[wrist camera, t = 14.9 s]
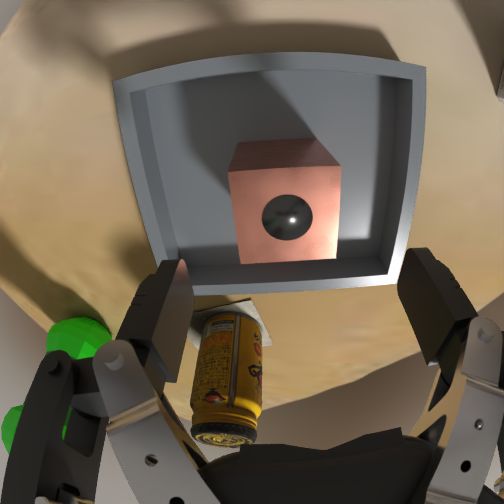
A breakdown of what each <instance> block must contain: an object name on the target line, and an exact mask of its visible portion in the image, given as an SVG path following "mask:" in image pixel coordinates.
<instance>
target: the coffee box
mask: <svg viewBox="0 0 504 504" xmlns="http://www.w3.org/2000/svg"><path fill="white" fill-rule="evenodd" d="M497 97H498V98H499V99H500V100H501V101H502V102H503V103H504V66H503V70H502V75H501V80H500V84H499V88H498V92H497Z"/></svg>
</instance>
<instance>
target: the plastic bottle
mask: <svg viewBox="0 0 504 504" xmlns="http://www.w3.org/2000/svg"><path fill="white" fill-rule="evenodd" d="M109 341H112V337H111V335H110V334H109V332H108V330H107V329H106V328H105V327H104V326H102V325H101V324H100V323H98V322H97V321H95V320H92V319H90V318H87V317H82V318H71V319H66V320H62V321H58V322H57V323H56V324H54V325H53V326H52V327H51V329H50V330H49V332H48V336H47V353H46V355H48V354H49V353H51V352H53V351H55V350H63V351H65V352H67V353H68V354H69V355H70V357H71V358H72V359H73V360H76V359H82V358H87V357H93V356H94V355H95V353H96V351H97V350H98V349H99V348H100V347H101V346H102V345H103V344H105V343H107V342H109ZM46 355H45V356H46ZM29 390H30V389H29ZM28 393H29V392H28ZM27 395H28V394H27ZM26 398H27V396H26ZM25 401H26V399H25ZM25 401H24V404H25ZM24 404H23V405H20V406H16V407H13V408H11V409H10V410H9V412H8V413H7V415H6V416H5V418H4V421H3V424H2V427H1V429H2V440H3V443H4V445H5V447H6V449H7V451H8V453H9V454H10V450H11V446H12V442H13V438H14V435H15V431H16V428H17V425H18V422H19V418H20V415H21V412H22V409H23V406H24ZM71 411H72V409H71V408H70V407H69V410H68V414H67V417H66V421H65V424H64V428H63V432H62V438H63V440H64V436H65V432H66V428H67V425H68V421H69V417H70V414H71Z"/></svg>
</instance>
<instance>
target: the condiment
mask: <svg viewBox="0 0 504 504" xmlns="http://www.w3.org/2000/svg"><path fill="white" fill-rule="evenodd" d="M204 318H205V319H204ZM187 336H188V338H189V339H190V340H191V341H192V343H193V344H194V346H195V347H196V348H197V349H198V350H199V353H198V358H197V364H196V370H195V376H194V381H193V387H192V393H191V399H190V406H191V408H192V410H193V412H194V414H193V415H192V428H191V430H190V431H191V435H192V437H193V438H194V439H195V440H197V441H199V442H201V443H203V444H207V445H211V446H217V447H224V448H240V444H253V443H254V442H255V440H256V438H257V432H256V426H257V424H258V423H257V420H256V419H257V417H258V416H259V415H260V414H261V411H262V347H263V346H269V345H273V343H272V341H271V338H270V336H269V334H268V332H267V330H266V328H265V326H264V324H263V322H262V320H261V318H260V316H259V314H258V312H257V310H256V308H255V306H254V304H253V302H252V300H250V301H245V302H240V303H234V304H230V305H224V306H220V307H215V308H212V309H207V310H204V311H201V312H194V313H192V317H191V321H190V326H189V330H188V334H187Z"/></svg>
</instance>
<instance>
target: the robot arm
mask: <svg viewBox="0 0 504 504" xmlns="http://www.w3.org/2000/svg"><path fill="white" fill-rule="evenodd" d="M397 291H398V296H399V298H400V300H401V303H402V305H403V307H404V309H405V312H406V314H407V316H408V319H409V321H410V323H411V326H412V328H413V330H414V333H415V335H416V338H417V340H418V343H419V345H420V348H421V351H422V353H423V356H424V358H425V361H426V364H427V366H430V365H435V364H439V366H440V369H439V371H438V372H437V375H436V378H435V381H434V384H433V387H432V390H431V392H430V395H429V398H428V401H427V403H426V406H425V409H424V411H423V414H422V416H421V418H420V419H419V421H418V423H417V424H416V425H415V427H414V428H413V430H412V431H411V433H410V435H409V436H406V435H402V431H401V427H399V428H394V429H390V430H386V431H381V432H376V433H371V434H366V435H363V436H361V437H359V438H357V439H354V440H351V441H349V442H346V443H344V444H341V445H339V446H336V447H334V448H331V449H328V450H317V449H310V448H303V447H297V446H291V445H285V444H240V452H235V453H231V454H228V455H225V456H222V457H220V458H217V459H215V460H213V461H212V462H208V460H207V459H206V458H205V456H204V455H203V453H202V452H201V451H200V449H199V448H198V446H197V445H196V444H195V442H194V441H193V440H192V439H191V437H190V436H189V434H188V433H187V431H186V430H185V428H184V426H183V425H182V423H181V422H180V420H179V418H178V416H177V415H176V413H175V411H174V410H173V408H172V406H171V404H170V403H169V401H168V399H167V397H166V396H165V394H164V392H163V390H164V385H165V382H171V383H176V382H177V377H178V373H179V368H180V364H181V359H182V355H183V351H184V346H185V342H186V338H187V334H188V330H189V326H190V321H191V317H192V313H193V309H194V301H195V300H194V291H193V288H192V284H191V281H190V277H189V274H188V270H187V267H186V263H185V261H184V260H183V259H171V260H162V261H161V263H160V265H159V267H158V269H157V271H156V274H150V275H149V276H148V277H147V278H146V279H145V280H144V281H143V282H142V283H141V284H140V285H139V287H138V289H137V292H136V294H135V297H134V298H133V300H132V302H131V306H130V307H129V309H128V311H127V313H126V316H125V318H124V320H123V322H122V325H121V327H120V329H119V332H118V334H117V336H116V339H115V340H112V341H109V342H107V343H105V344H103V345H102V346H101V347H100V348H99V349H98V350H97V351H96V353H95V355H94V356H93V357H87V358H82V359H76V360H73V359H72V358H71V357H70V355H69V354H68V353H67V352H65V351H63V350H55V351H53V352H51V353H49V354H48V355H46V356H45V357H44V359H43V360H42V361H41V363H40V365H39V368H38V370H37V373H36V375H35V377H34V380H33V382H32V385H31V387H30V390H29V393H28V395H27V398H26V401H25V404H24V406H23V409H22V412H21V415H20V418H19V422H18V425H17V428H16V431H15V435H14V438H13V442H12V446H11V450H10V454H9V458H8V462H7V467H6V472H5V477H4V482H3V489H2V495H1V503H0V504H94V502H95V493H96V487H97V480H98V473H99V467H100V462H101V455H102V451H103V446H104V441H105V436H106V432H107V435H108V438H109V441H110V443H111V446H112V448H113V450H114V453H115V455H116V457H117V459H118V462H119V464H120V466H121V469H122V471H123V473H124V475H125V477H126V479H127V481H128V483H129V485H130V487H131V489H132V491H133V493H134V494H135V496H136V498H137V500H138V502H139V504H504V331H501V330H500V328H499V327H498V325H497V324H496V323H495V322H494V321H493V320H491V319H489V318H488V317H483V316H478V314H477V312H476V310H475V309H474V307H473V305H472V304H471V302H470V300H469V299H468V297H467V296H466V294H465V292H464V291H463V289H462V288H460V285H459V283H458V282H457V280H455V277H454V276H453V274H452V273H451V271H450V270H449V268H448V267H446V266H445V265H444V264H443V263H441V262H440V261H439V260H436V258H435V257H434V256H433V254H432V253H431V251H430V250H429V249H428V248H426V247H424V248H409V249H408V250H407V251H406V254H405V257H404V261H403V265H402V268H401V272H400V275H399V279H398V283H397ZM69 407H70V408H71V409H72V411H71V414H70V417H69V421H68V425H67V428H66V432H65V436H64V440H63V438H62V432H63V428H64V424H65V421H66V417H67V414H68V410H69ZM109 419H110V423H109V424H108V422H109ZM496 444H497V446H498V451H499V457H500V463H501V470H502V475H501V477H500V478H498V479H497V480H496V482H495V484H494V490H495V491H496V492H499V494H498V495H497V494H496V493H495V492H493V491H492V490H491V489H489V488H488V487H487V486H485V485H484V482H485V479H486V477H487V474H488V471H489V468H490V465H491V462H492V459H493V455H494V452H495V448H496Z"/></svg>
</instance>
